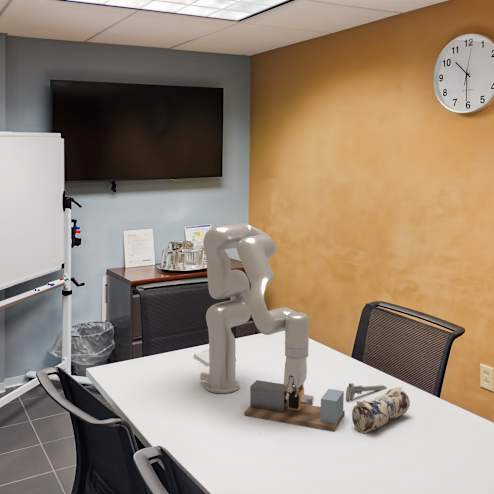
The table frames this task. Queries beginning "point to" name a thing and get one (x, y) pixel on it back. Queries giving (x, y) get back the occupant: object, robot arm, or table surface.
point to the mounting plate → (204, 357)
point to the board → (295, 417)
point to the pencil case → (380, 410)
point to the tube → (301, 398)
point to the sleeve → (268, 396)
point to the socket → (332, 406)
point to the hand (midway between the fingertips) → (295, 404)
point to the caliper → (360, 390)
